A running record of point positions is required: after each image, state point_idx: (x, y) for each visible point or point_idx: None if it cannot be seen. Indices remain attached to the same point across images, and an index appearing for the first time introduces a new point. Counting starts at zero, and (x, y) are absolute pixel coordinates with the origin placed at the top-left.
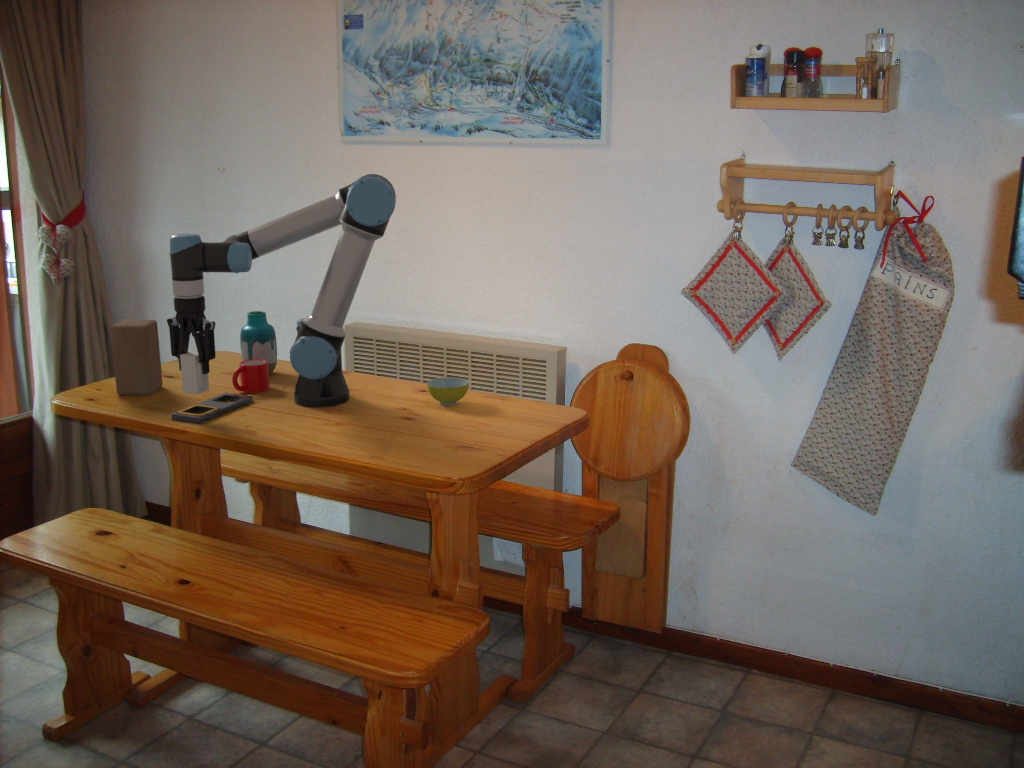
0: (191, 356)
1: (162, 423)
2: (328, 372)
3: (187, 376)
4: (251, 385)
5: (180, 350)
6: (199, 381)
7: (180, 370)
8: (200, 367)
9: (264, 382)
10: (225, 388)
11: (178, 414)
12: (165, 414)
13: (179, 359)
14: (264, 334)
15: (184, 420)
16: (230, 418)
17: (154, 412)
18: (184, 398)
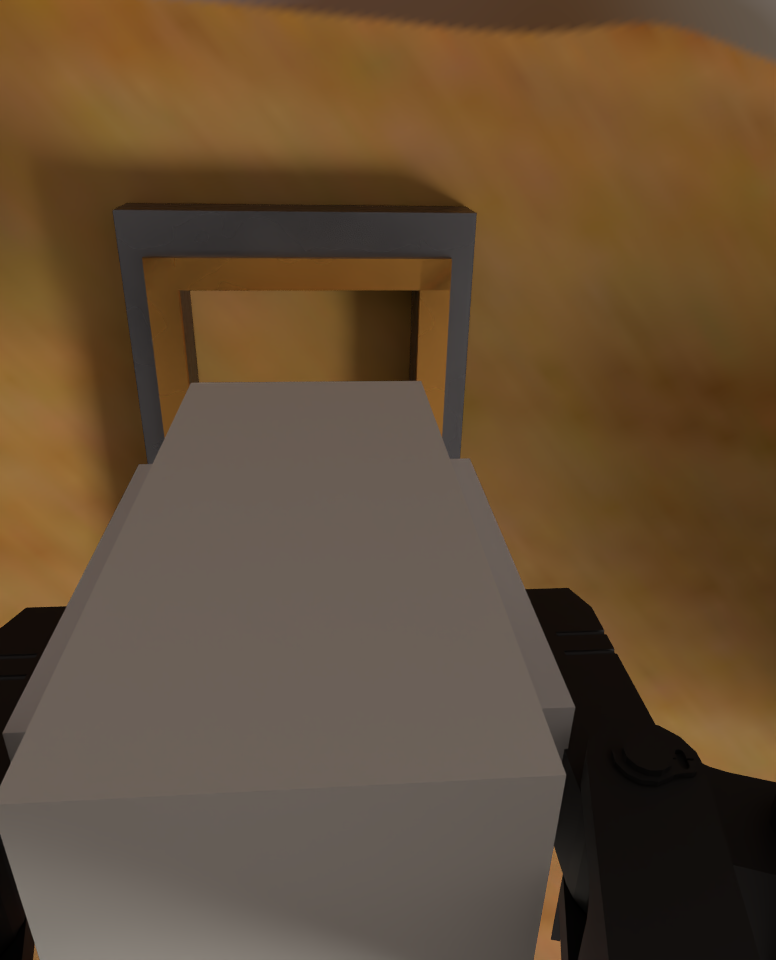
0: (121, 789)
1: (474, 57)
2: None
3: (333, 481)
4: None
5: (663, 949)
6: None
7: (564, 594)
8: (45, 657)
9: None
10: (558, 897)
11: (399, 226)
12: (613, 314)
13: (618, 721)
14: None
15: (317, 206)
16: (14, 442)
17: (736, 323)
18: (696, 675)
